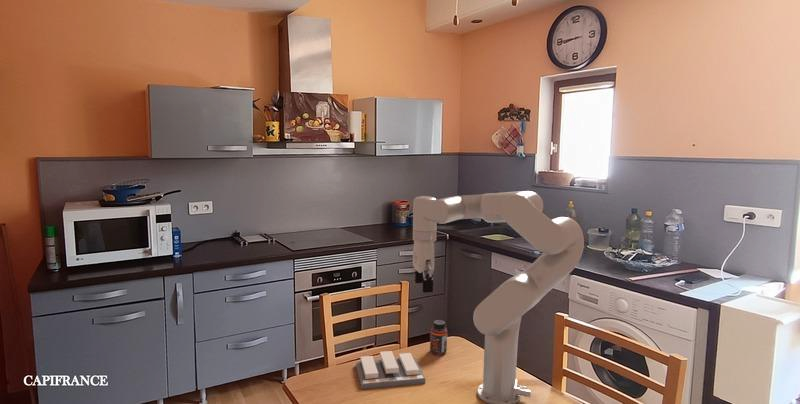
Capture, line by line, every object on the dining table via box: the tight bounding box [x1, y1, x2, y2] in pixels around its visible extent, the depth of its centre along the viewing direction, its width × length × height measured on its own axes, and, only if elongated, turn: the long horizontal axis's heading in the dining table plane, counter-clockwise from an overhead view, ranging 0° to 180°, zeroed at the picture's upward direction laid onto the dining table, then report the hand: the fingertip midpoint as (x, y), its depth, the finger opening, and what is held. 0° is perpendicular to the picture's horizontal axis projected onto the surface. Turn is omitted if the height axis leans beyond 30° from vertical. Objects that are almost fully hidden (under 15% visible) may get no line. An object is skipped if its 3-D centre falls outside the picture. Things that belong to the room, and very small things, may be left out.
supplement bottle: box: [429, 319, 448, 356], centre depth 175 cm, size 6×6×11 cm
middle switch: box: [379, 350, 399, 374], centre depth 160 cm, size 4×12×2 cm, turn 12°
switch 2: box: [398, 352, 419, 375], centre depth 161 cm, size 4×12×2 cm, turn 12°
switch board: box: [355, 356, 426, 390], centre depth 159 cm, size 20×15×2 cm
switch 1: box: [360, 355, 378, 379], centre depth 159 cm, size 4×12×2 cm, turn 12°
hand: (423, 287), depth 159 cm, fingers open, 9 cm apart
